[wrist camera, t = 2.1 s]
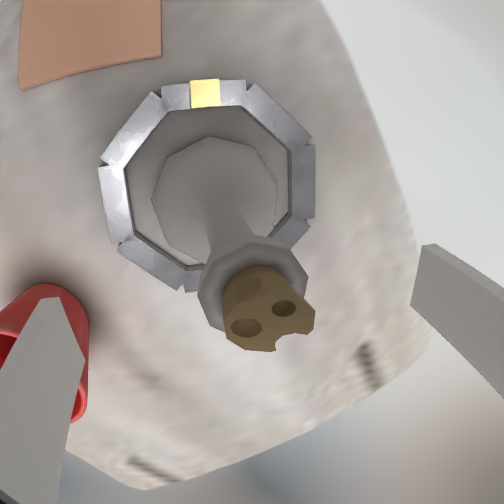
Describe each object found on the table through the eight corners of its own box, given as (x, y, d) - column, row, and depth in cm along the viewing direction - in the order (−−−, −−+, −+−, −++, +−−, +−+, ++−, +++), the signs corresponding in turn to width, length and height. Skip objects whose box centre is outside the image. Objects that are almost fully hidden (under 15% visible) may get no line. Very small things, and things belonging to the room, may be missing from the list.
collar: (94, 99, 19) (85, 97, 17) (308, 81, 22) (319, 79, 20) (127, 294, 26) (124, 307, 25) (308, 268, 29) (317, 279, 28)
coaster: (31, -26, 12) (28, -28, 11) (162, -59, 14) (162, -64, 13) (23, 90, 17) (18, 90, 16) (161, 57, 19) (161, 55, 19)
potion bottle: (285, 185, 26) (437, 299, 10) (211, 259, 27) (261, 446, 11) (209, 110, 22) (282, 86, 6) (132, 195, 23) (54, 349, 7)
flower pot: (6, 255, 22) (-45, 313, 14) (108, 282, 26) (85, 355, 17) (14, 340, 26) (-16, 404, 17) (102, 365, 29) (89, 437, 20)
